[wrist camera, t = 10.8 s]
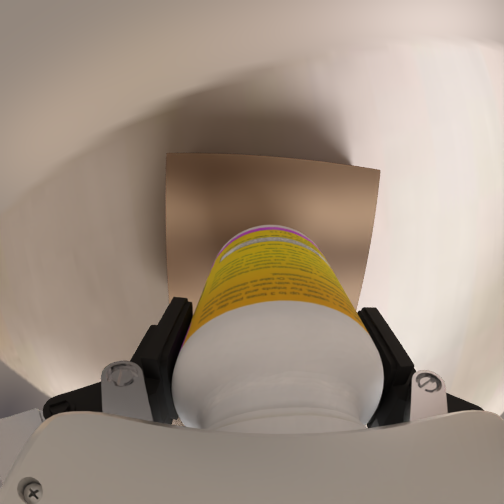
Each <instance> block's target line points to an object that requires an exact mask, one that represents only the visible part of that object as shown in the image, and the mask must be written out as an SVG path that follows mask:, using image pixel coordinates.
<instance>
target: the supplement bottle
mask: <svg viewBox="0 0 504 504" xmlns="http://www.w3.org/2000/svg"><path fill="white" fill-rule="evenodd" d="M383 382H384V373H383V366H382V361H381V358H380V355H379V352H378V350H377V348H376V346H375V344H374V342H373V341H372V339H371V337H370V335H369V333H368V331H367V329H366V328H365V326H364V324H363V323H362V321H361V319H360V317H359V316H358V314H357V312H356V310H355V309H354V307H353V305H352V303H351V301H350V300H349V298H348V296H347V294H346V293H345V291H344V289H343V288H342V286H341V284H340V282H339V281H338V279H337V277H336V275H335V274H334V272H333V270H332V269H331V267H330V265H329V263H328V262H327V260H326V258H325V257H324V255H323V254H322V252H321V251H320V250H319V248H318V247H317V246H316V244H315V243H314V242H313V241H312V240H310V239H309V238H308V237H307V236H305V235H304V234H302V233H301V232H299V231H297V230H294V229H292V228H289V227H285V226H280V225H262V226H256V227H253V228H249V229H247V230H245V231H243V232H241V233H239V234H237V235H236V236H234V237H233V238H232V239H230V240H229V241H228V242H227V243H226V244H225V245H224V246H223V248H222V249H221V250H220V252H219V253H218V255H217V257H216V259H215V261H214V263H213V266H212V268H211V271H210V273H209V276H208V278H207V281H206V283H205V286H204V289H203V292H202V294H201V297H200V299H199V302H198V305H197V307H196V310H195V312H194V315H193V318H192V320H191V323H190V326H189V329H188V331H187V334H186V336H185V339H184V342H183V344H182V347H181V349H180V352H179V355H178V358H177V361H176V364H175V367H174V371H173V376H172V387H171V389H172V398H173V402H174V406H175V409H176V411H177V414H178V416H179V418H180V419H181V421H182V423H183V424H184V425H185V427H191V428H198V429H207V430H216V431H227V432H241V433H263V434H303V433H324V432H338V431H349V430H358V429H366V427H365V425H366V424H367V423H368V421H369V420H370V419H371V417H372V416H373V414H374V412H375V411H376V409H377V406H378V404H379V401H380V398H381V395H382V390H383Z"/></svg>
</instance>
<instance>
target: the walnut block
mask: <svg viewBox="0 0 504 504" xmlns="http://www.w3.org/2000/svg"><path fill="white" fill-rule="evenodd" d="M379 180H380V170H377V169H371V168H365V167H359V166H352V165H345V164H338V163H331V162H323V161H314V160H305V159H295V158H285V157H273V156H259V155H241V154H216V153H167V157H166V255H167V277H168V293H169V304H170V302H171V300H172V299H173V297H182V298H187V299H188V302H192V304H193V315H194V312H195V310H196V307H197V305H198V302H199V299H200V297H201V294H202V292H203V289H204V286H205V283H206V281H207V278H208V276H209V273H210V271H211V268H212V266H213V263H214V261H215V259H216V257H217V255H218V253H219V252H220V250H221V249H222V248H223V246H224V245H225V244H226V243H227V242H228V241H229V240H230V239H232V238H233V237H234V236H236V235H237V234H239V233H241V232H243V231H245V230H247V229H249V228H253V227H256V226H262V225H280V226H285V227H289V228H292V229H294V230H297V231H299V232H301V233H302V234H304V235H305V236H307V237H308V238H309V239H310V240H312V241H313V242H314V243H315V244H316V246H317V247H318V248H319V250H320V251H321V252H322V254H323V255H324V257H325V258H326V260H327V262H328V263H329V265H330V267H331V269H332V270H333V272H334V274H335V275H336V277H337V279H338V281H339V282H340V284H341V286H342V288H343V289H344V291H345V293H346V294H347V296H348V298H349V300H350V301H351V303H352V305H353V307H354V309H355V310H356V309H357V305H358V301H359V296H360V292H361V288H362V283H363V279H364V274H365V269H366V264H367V259H368V254H369V248H370V243H371V237H372V231H373V225H374V218H375V211H376V204H377V197H378V188H379Z"/></svg>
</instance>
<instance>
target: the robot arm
mask: <svg viewBox="0 0 504 504" xmlns="http://www.w3.org/2000/svg"><path fill="white" fill-rule="evenodd" d="M357 314H358V316H359V317H360V319H361V321H362V323H363V324H364V326H365V328H366V329H367V331H368V333H369V335H370V337H371V339H372V341H373V342H374V344H375V346H376V348H377V350H378V352H379V355H380V358H381V361H382V366H383V373H384V382H383V390H382V395H381V398H380V401H379V404H378V406H377V409H376V411H375V412H374V414H373V416H372V417H371V419H370V420H369V421H368V423H367V427H368V428H366V429H358V430H349V431H338V432H324V433H303V434H263V433H241V432H227V431H216V430H207V429H198V428H191V427H184V426H177V425H171V424H172V421H173V419H175V420H177V419H178V414H177V411H176V409H175V406H174V402H173V398H172V389H171V387H172V376H173V371H174V367H175V364H176V361H177V358H178V355H179V352H180V349H181V347H182V344H183V342H184V339H185V336H186V334H187V331H188V329H189V326H190V323H191V320H192V318H193V304H192V302H188V299H187V298H182V297H173V299H172V300H171V302H170V304H169V306H168V307H167V309H166V311H165V313H164V315H163V316H162V318H161V320H160V322H159V324H158V325H151V326H150V327H149V329H148V331H147V333H146V334H145V336H144V338H143V339H142V341H141V343H140V345H139V346H138V348H137V350H136V352H135V354H134V355H133V357H132V359H131V361H117V362H114V363H111V364H109V365H108V366H107V367H105V368H104V370H103V371H102V375H101V382H99V383H96V384H93V385H90V386H86V387H83V388H80V389H77V390H74V391H71V392H68V393H64V394H61V395H58V396H55V397H53V398H51V399H49V400H48V401H47V402H46V404H45V405H44V408H43V410H41V411H39V410H38V408H36V409H32V410H29V411H26V412H23V413H20V414H16V415H13V416H10V417H7V418H3V419H0V479H1V482H2V487H1V489H0V504H504V420H503V419H502V418H501V417H500V416H499V415H497V414H495V413H492V412H488V411H484V410H483V409H482V408H481V407H479V406H477V405H474V404H472V403H469V402H467V401H465V400H462V399H460V398H457V397H455V396H453V395H450V394H448V393H446V387H445V383H444V380H443V379H442V378H441V377H440V376H439V375H438V374H436V373H434V372H432V371H429V370H420V371H417V372H416V370H415V369H414V364H413V362H412V361H411V359H410V358H409V356H408V354H407V353H406V351H405V350H404V348H403V347H402V345H401V344H400V342H399V341H398V339H397V338H396V336H395V335H394V333H393V332H392V330H391V329H390V327H389V326H388V324H387V323H386V321H385V320H384V318H383V317H382V315H381V314H380V313H379V311H378V310H377V308H366V307H364V308H362V310H361V311H358V313H357Z"/></svg>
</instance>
